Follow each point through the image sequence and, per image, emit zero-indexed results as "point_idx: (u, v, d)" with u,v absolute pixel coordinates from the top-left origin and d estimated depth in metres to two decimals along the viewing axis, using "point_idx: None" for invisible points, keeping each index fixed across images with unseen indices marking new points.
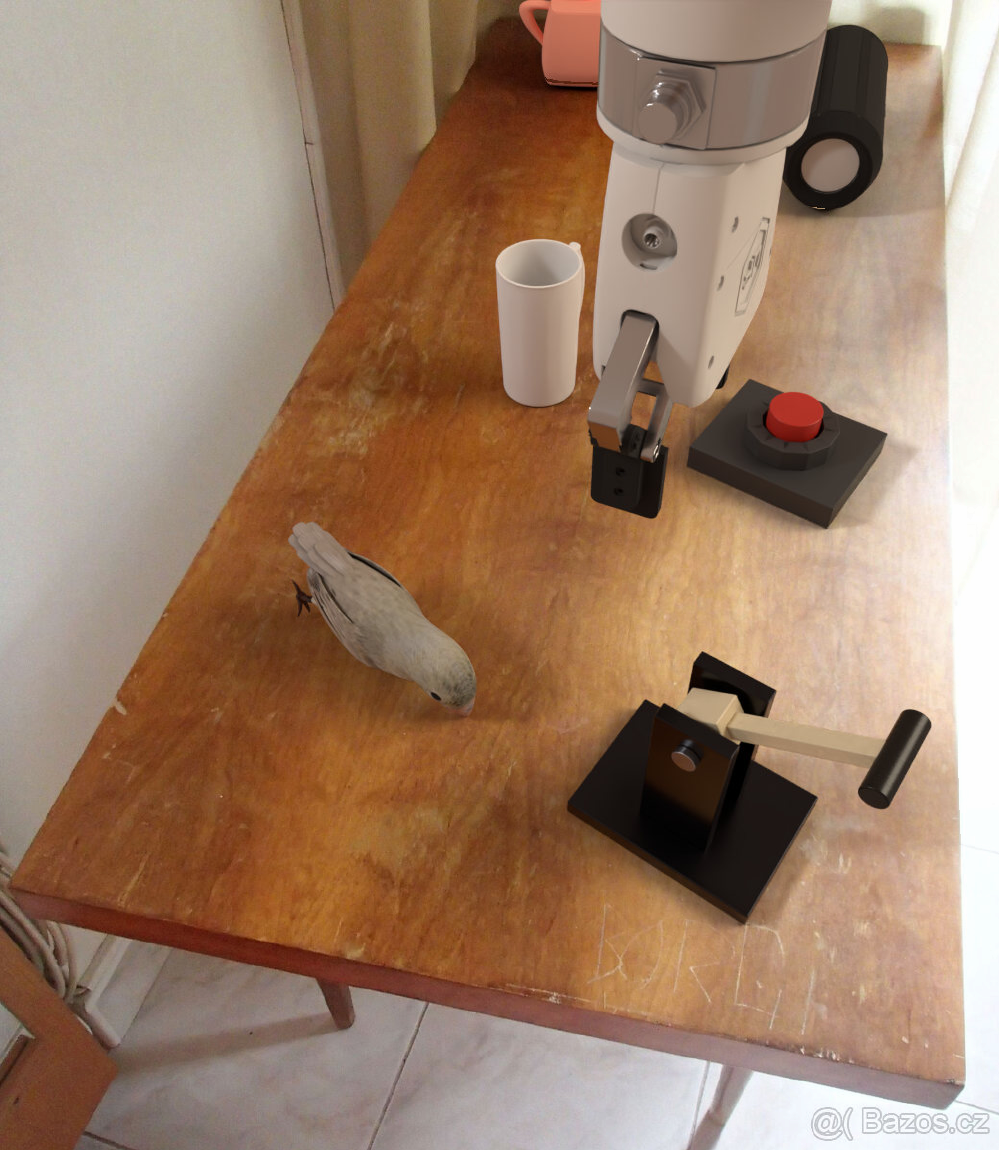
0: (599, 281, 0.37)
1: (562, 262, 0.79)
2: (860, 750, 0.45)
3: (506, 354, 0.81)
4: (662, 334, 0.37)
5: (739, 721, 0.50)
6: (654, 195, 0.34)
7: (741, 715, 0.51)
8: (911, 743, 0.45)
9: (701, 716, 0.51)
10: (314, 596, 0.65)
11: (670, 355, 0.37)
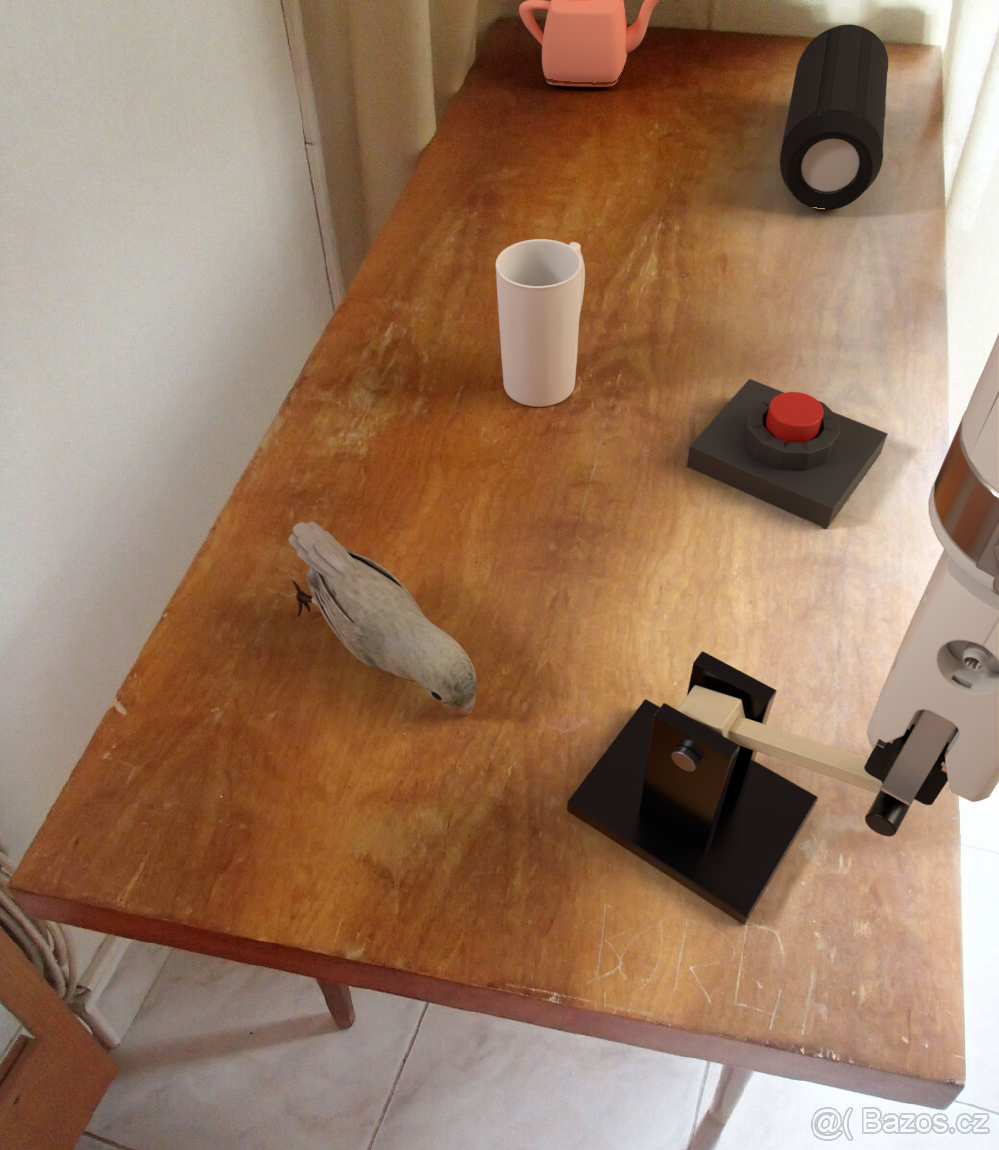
0: (899, 674, 0.34)
1: (562, 262, 0.79)
2: (868, 774, 0.46)
3: (506, 354, 0.81)
4: (960, 742, 0.34)
5: (742, 726, 0.51)
6: (989, 631, 0.31)
7: (744, 720, 0.51)
8: None
9: (705, 718, 0.51)
10: (314, 596, 0.65)
11: (964, 760, 0.34)
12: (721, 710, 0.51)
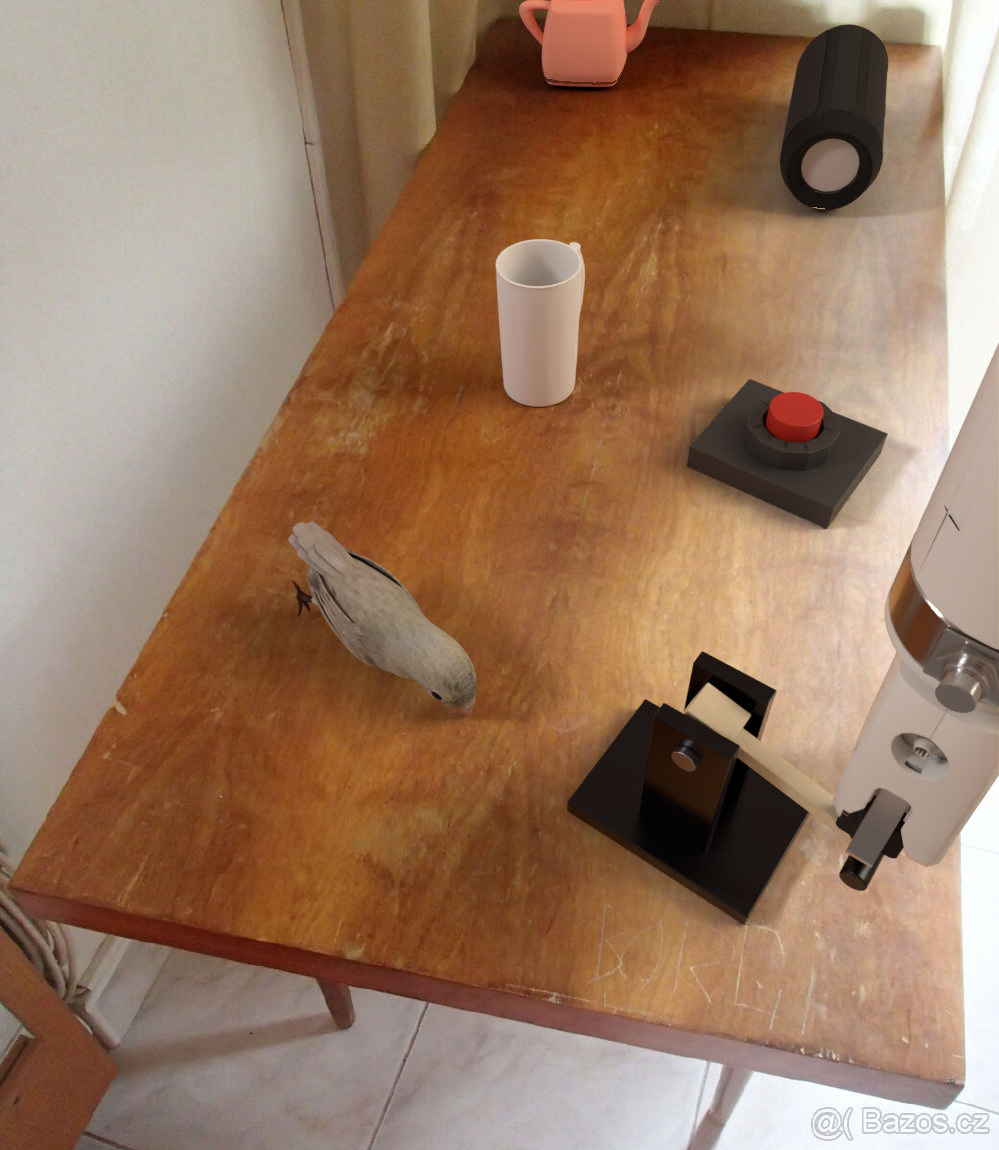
0: (859, 756, 0.39)
1: (562, 262, 0.79)
2: None
3: (506, 354, 0.81)
4: (913, 817, 0.38)
5: (745, 741, 0.51)
6: (935, 727, 0.35)
7: (747, 734, 0.52)
8: None
9: (717, 726, 0.51)
10: (314, 596, 0.65)
11: (917, 832, 0.39)
12: (732, 722, 0.51)
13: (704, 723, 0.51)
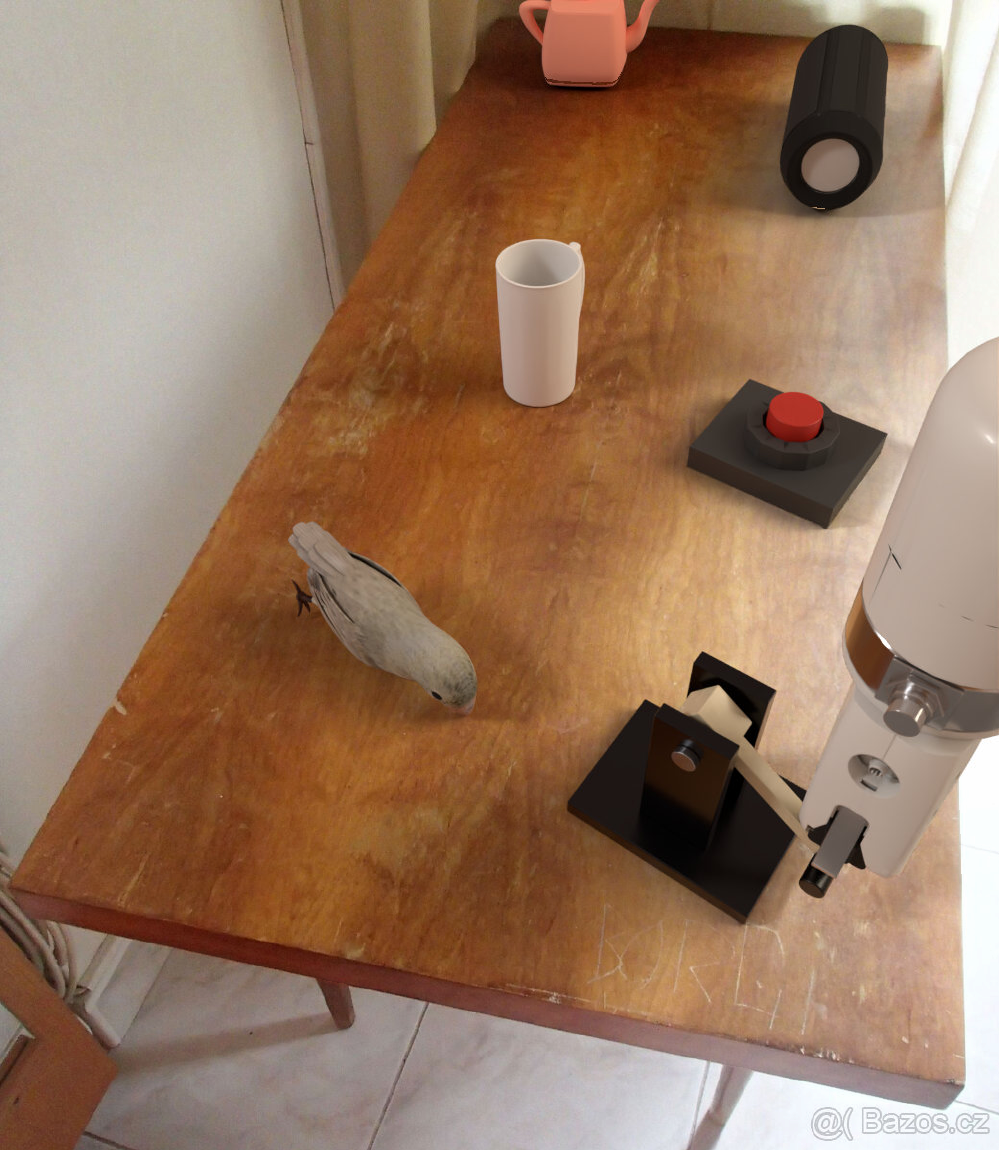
0: (820, 775, 0.41)
1: (562, 262, 0.79)
2: None
3: (506, 354, 0.81)
4: (871, 832, 0.41)
5: (740, 747, 0.52)
6: (886, 749, 0.37)
7: (743, 740, 0.52)
8: None
9: (722, 732, 0.51)
10: (314, 596, 0.65)
11: (875, 847, 0.41)
12: (736, 729, 0.51)
13: (711, 728, 0.51)
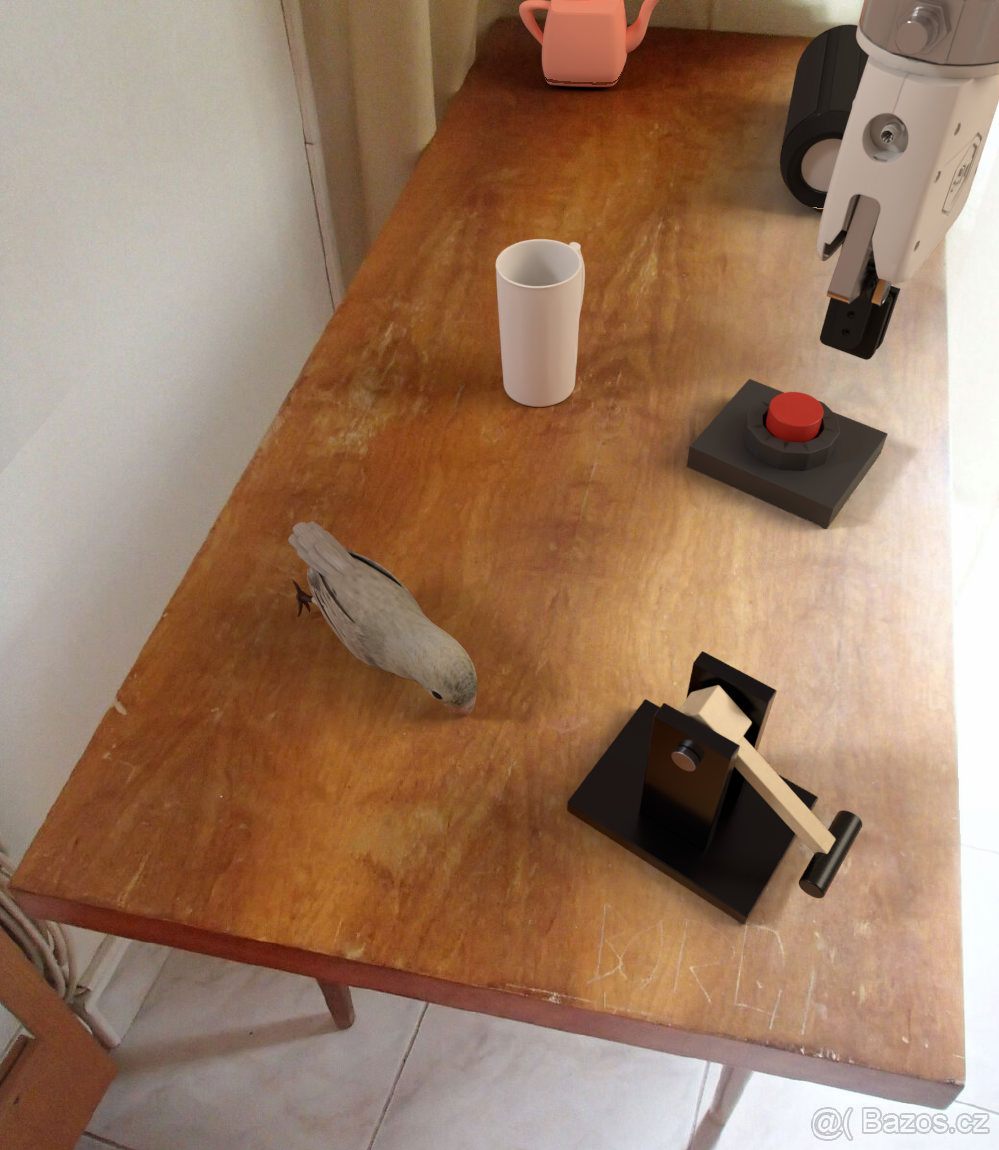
0: (836, 170, 0.47)
1: (562, 262, 0.79)
2: (818, 840, 0.53)
3: (506, 354, 0.81)
4: (881, 217, 0.46)
5: (740, 747, 0.52)
6: (896, 98, 0.43)
7: (743, 740, 0.52)
8: (848, 851, 0.53)
9: (722, 732, 0.51)
10: (314, 596, 0.65)
11: (885, 235, 0.47)
12: (736, 729, 0.51)
13: (711, 728, 0.51)
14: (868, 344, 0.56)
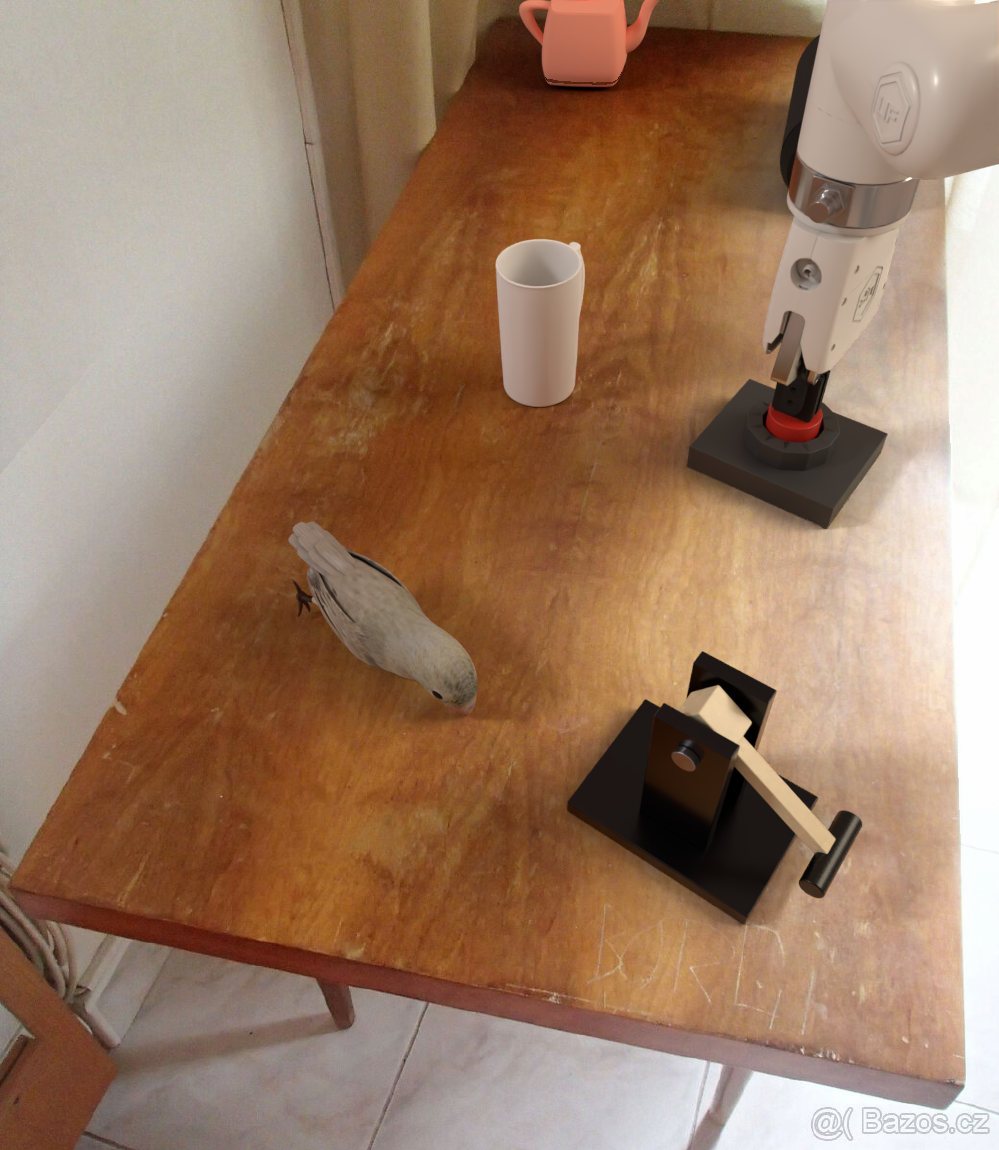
0: (773, 292, 0.64)
1: (562, 262, 0.79)
2: (818, 840, 0.53)
3: (506, 354, 0.81)
4: (806, 327, 0.64)
5: (740, 747, 0.52)
6: (812, 249, 0.60)
7: (743, 740, 0.52)
8: (848, 851, 0.53)
9: (722, 732, 0.51)
10: (315, 596, 0.65)
11: (809, 340, 0.64)
12: (736, 729, 0.51)
13: (711, 728, 0.51)
14: (807, 411, 0.73)
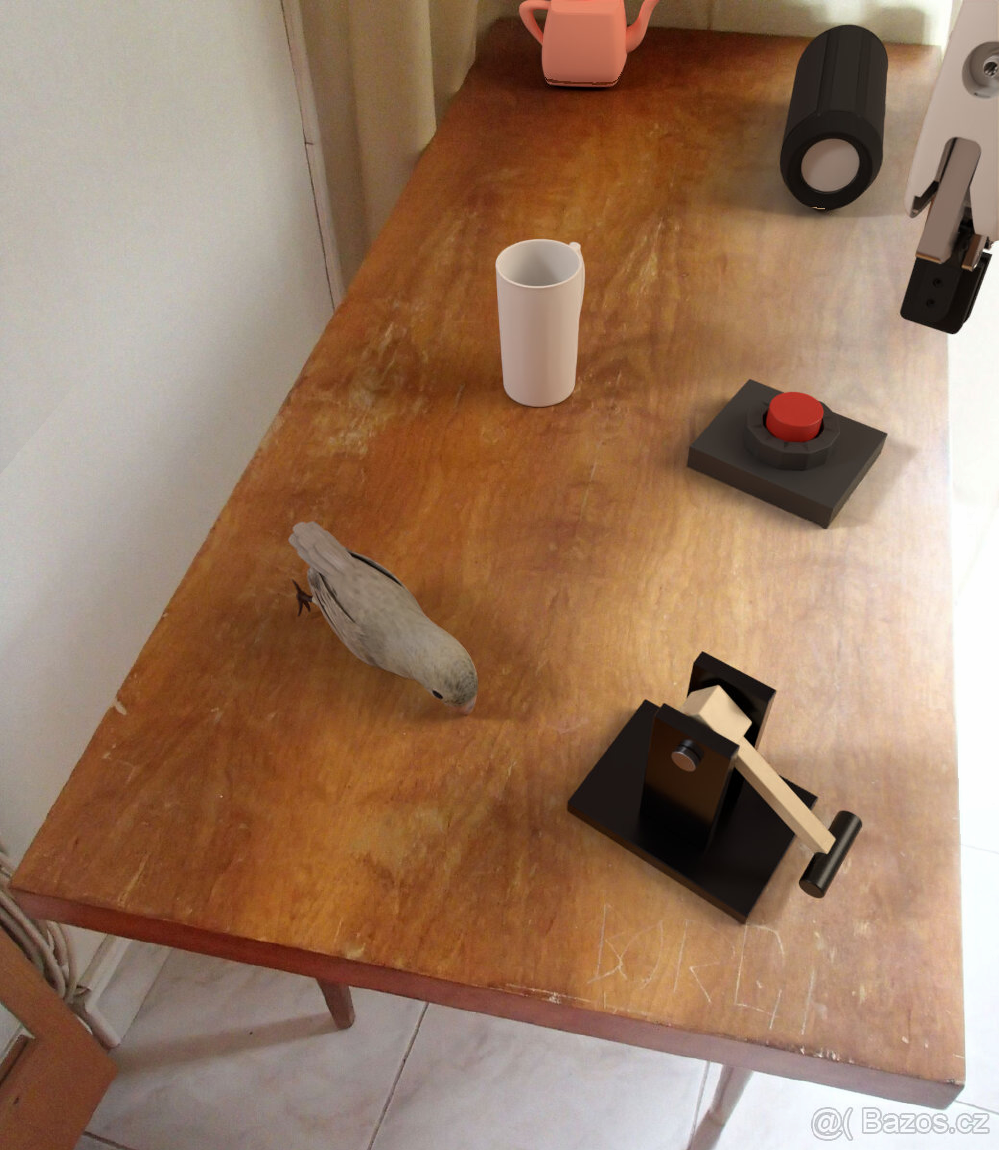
0: (931, 111, 0.42)
1: (562, 262, 0.79)
2: (818, 840, 0.53)
3: (506, 354, 0.81)
4: (982, 161, 0.42)
5: (740, 747, 0.52)
6: None
7: (743, 740, 0.52)
8: (848, 851, 0.53)
9: (722, 732, 0.51)
10: (315, 595, 0.65)
11: (985, 183, 0.42)
12: (736, 729, 0.51)
13: (711, 728, 0.51)
14: (955, 316, 0.51)
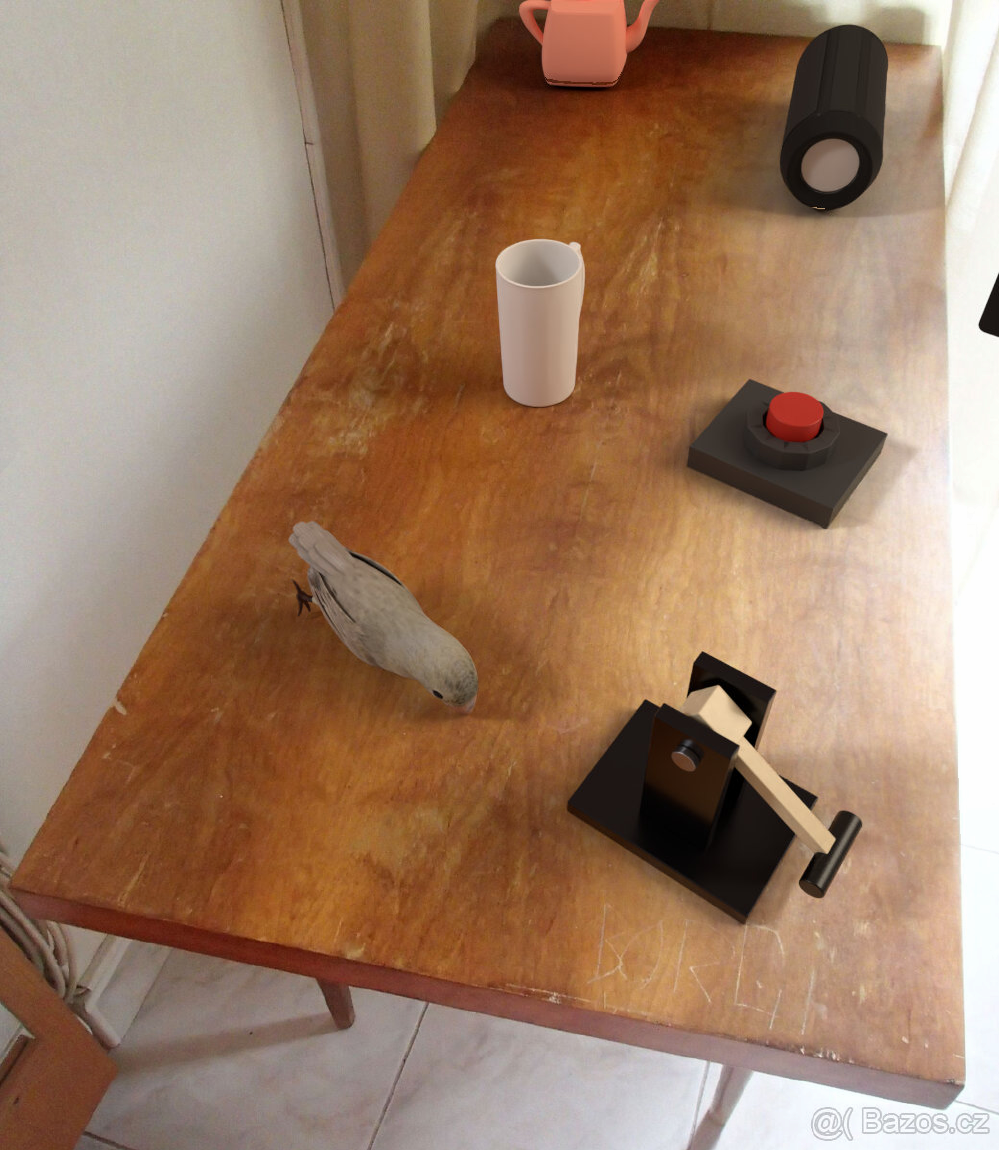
0: None
1: (562, 262, 0.79)
2: (818, 840, 0.53)
3: (506, 354, 0.81)
4: None
5: (740, 747, 0.52)
6: None
7: (743, 740, 0.52)
8: (848, 851, 0.53)
9: (722, 732, 0.51)
10: (315, 595, 0.65)
11: None
12: (736, 729, 0.51)
13: (711, 728, 0.51)
14: None
